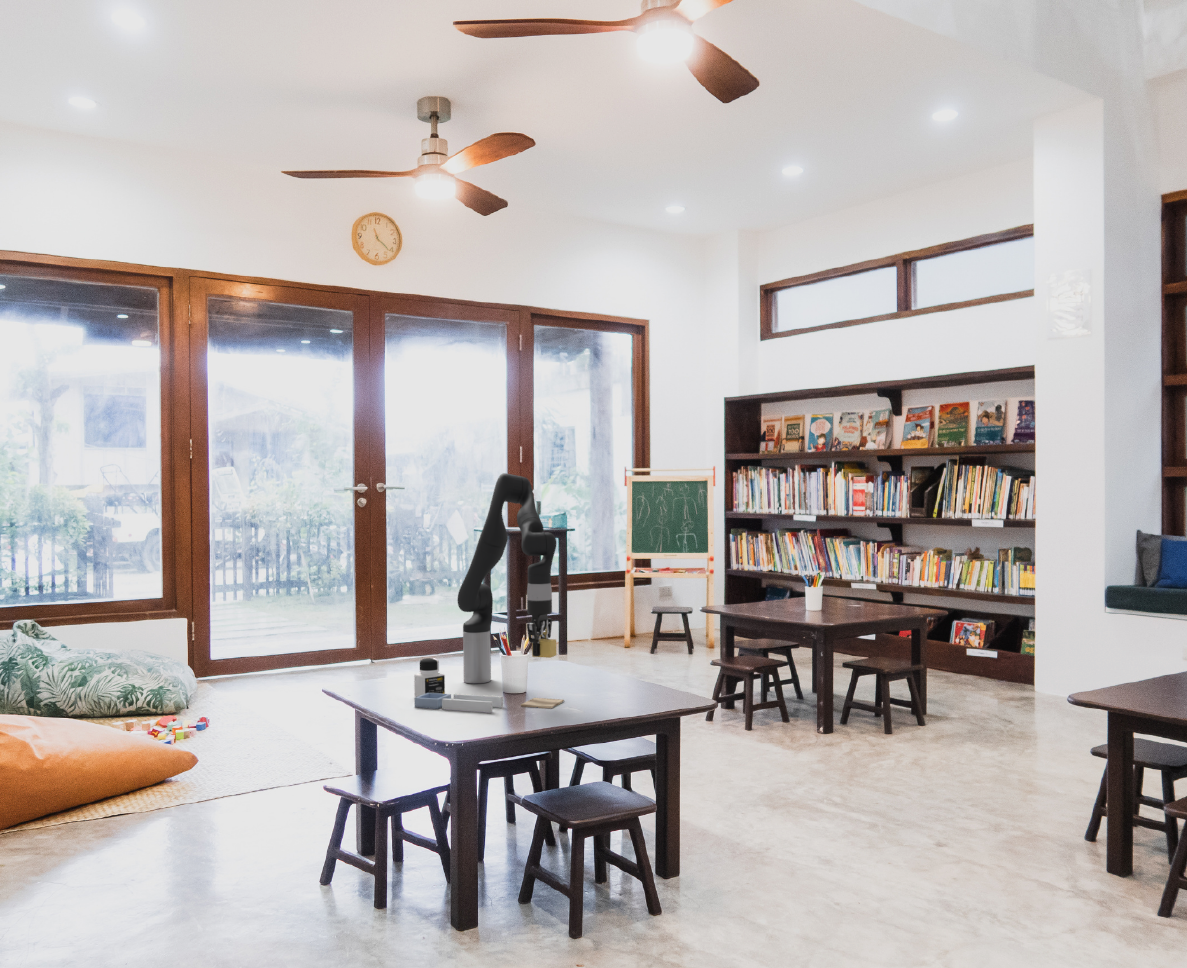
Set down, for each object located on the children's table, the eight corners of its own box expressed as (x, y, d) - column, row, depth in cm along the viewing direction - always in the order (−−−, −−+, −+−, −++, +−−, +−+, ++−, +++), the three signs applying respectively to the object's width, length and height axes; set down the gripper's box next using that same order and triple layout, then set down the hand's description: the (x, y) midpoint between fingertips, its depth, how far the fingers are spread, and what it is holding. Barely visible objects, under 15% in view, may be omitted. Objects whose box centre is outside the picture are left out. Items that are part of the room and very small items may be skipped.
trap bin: (428, 701, 290) (428, 692, 290) (451, 703, 287) (450, 694, 287) (414, 707, 282) (414, 698, 282) (438, 709, 279) (437, 699, 279)
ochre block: (538, 654, 287) (538, 638, 287) (556, 655, 285) (556, 639, 285) (532, 656, 282) (532, 640, 283) (550, 657, 280) (550, 641, 280)
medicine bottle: (425, 700, 292) (424, 661, 293) (414, 696, 298) (413, 658, 298) (445, 696, 297) (444, 658, 297) (433, 693, 302) (433, 656, 303)
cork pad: (534, 699, 290) (534, 697, 290) (564, 701, 287) (564, 699, 287) (520, 706, 281) (520, 704, 281) (551, 708, 278) (551, 706, 278)
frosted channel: (442, 709, 279) (442, 699, 279) (455, 703, 287) (455, 693, 287) (490, 712, 273) (490, 702, 273) (503, 706, 281) (503, 696, 281)
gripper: (541, 601, 276) (541, 659, 276) (560, 596, 290) (560, 651, 289) (518, 600, 279) (518, 658, 279) (537, 595, 292) (538, 650, 292)
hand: (540, 654), depth 284 cm, fingers closed on ochre block, 4 cm apart
